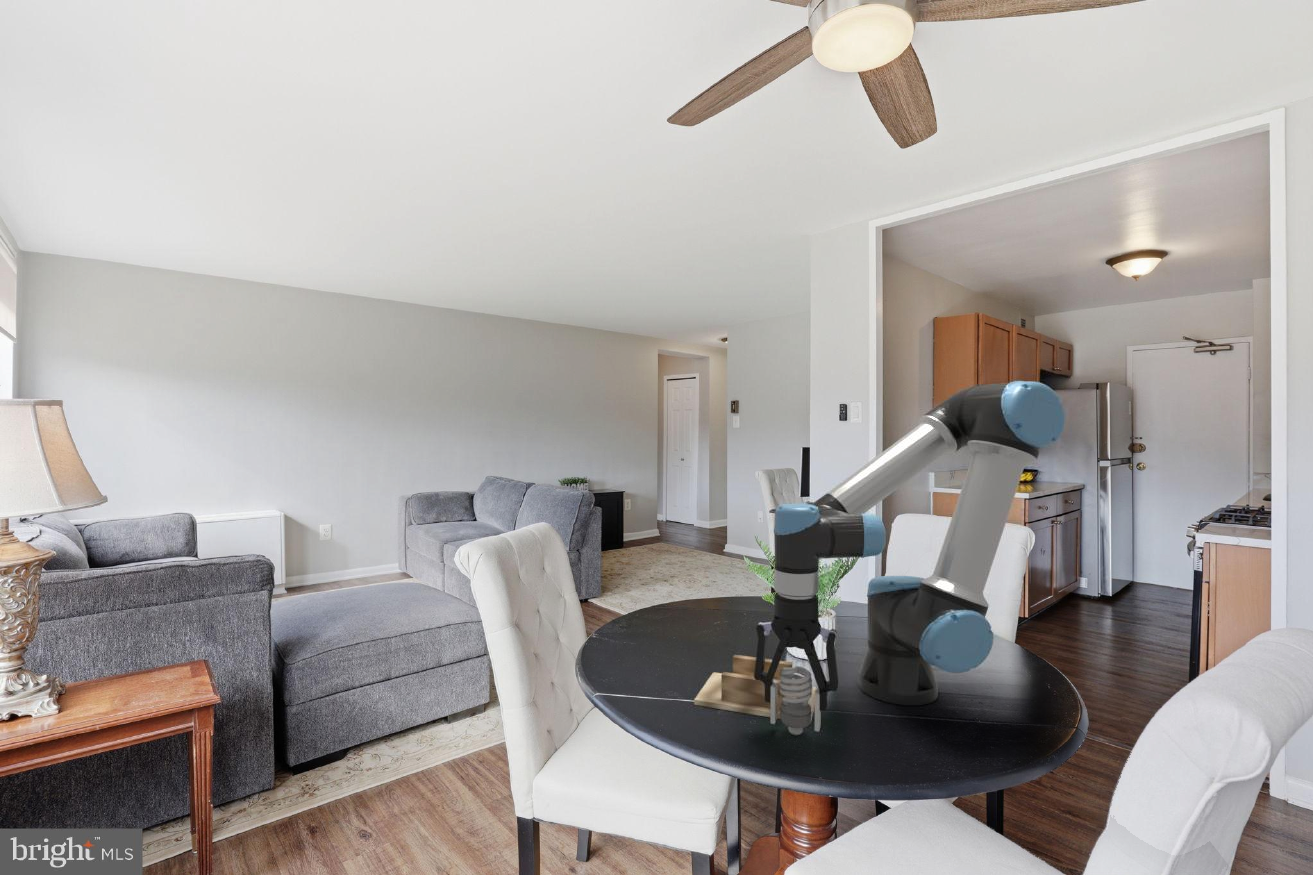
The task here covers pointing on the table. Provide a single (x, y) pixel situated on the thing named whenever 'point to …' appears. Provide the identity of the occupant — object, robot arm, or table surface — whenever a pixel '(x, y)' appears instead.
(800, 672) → the light bulb
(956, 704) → the table surface
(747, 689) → the u rest
